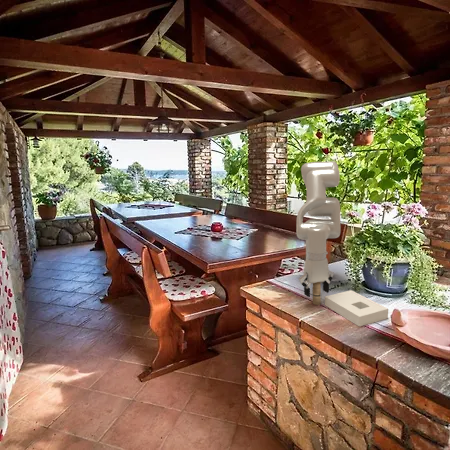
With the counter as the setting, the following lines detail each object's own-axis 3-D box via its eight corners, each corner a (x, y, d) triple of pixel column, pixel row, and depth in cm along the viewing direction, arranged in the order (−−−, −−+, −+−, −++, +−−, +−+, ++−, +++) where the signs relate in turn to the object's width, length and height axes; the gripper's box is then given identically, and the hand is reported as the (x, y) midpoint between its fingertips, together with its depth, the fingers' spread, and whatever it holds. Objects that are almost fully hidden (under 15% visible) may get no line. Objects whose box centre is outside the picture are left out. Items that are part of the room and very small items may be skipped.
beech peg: (310, 302, 141) (310, 281, 139) (317, 301, 142) (317, 279, 140) (315, 305, 138) (315, 283, 136) (322, 304, 139) (322, 282, 137)
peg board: (324, 305, 138) (324, 296, 137) (350, 298, 143) (351, 290, 142) (359, 326, 120) (359, 316, 119) (387, 318, 125) (388, 308, 124)
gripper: (327, 250, 142) (327, 287, 145) (294, 256, 136) (294, 294, 140) (339, 254, 135) (338, 293, 139) (304, 261, 129) (304, 301, 133)
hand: (316, 293), depth 139 cm, fingers open, 9 cm apart
